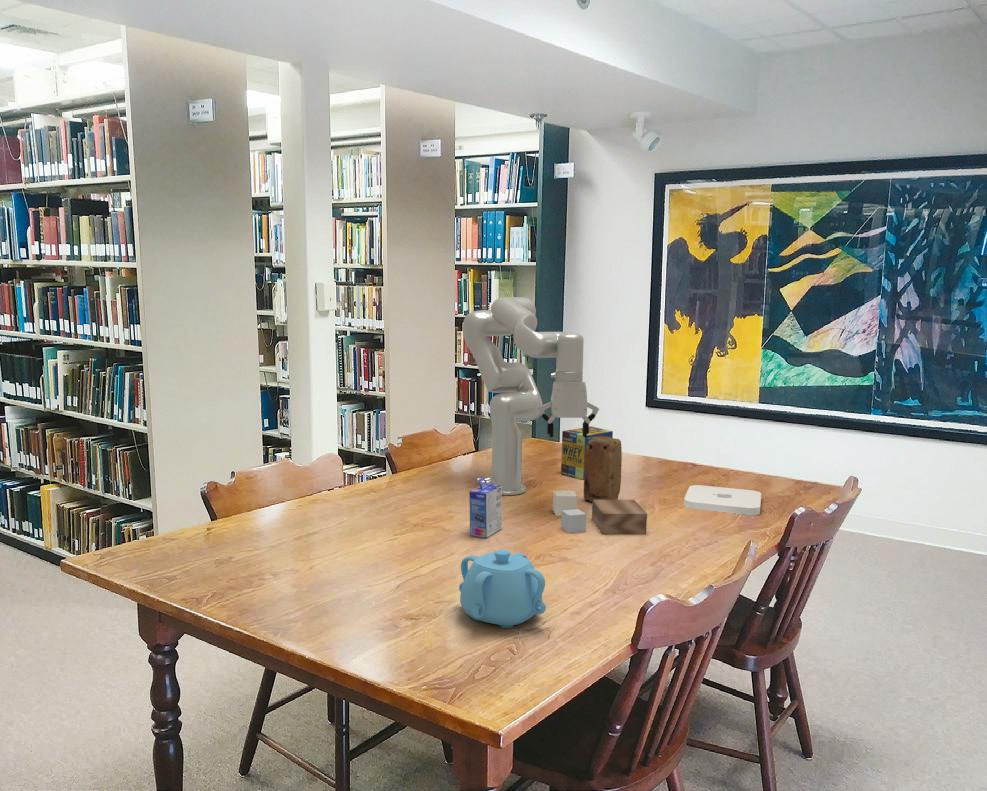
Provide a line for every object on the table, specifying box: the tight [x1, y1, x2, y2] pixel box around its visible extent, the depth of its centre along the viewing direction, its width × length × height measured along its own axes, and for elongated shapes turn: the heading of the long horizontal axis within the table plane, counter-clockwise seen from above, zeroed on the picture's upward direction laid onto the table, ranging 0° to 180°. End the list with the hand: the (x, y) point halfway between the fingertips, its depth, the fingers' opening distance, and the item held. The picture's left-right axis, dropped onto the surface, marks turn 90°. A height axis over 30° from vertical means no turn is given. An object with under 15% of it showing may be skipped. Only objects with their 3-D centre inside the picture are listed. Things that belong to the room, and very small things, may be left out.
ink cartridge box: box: [469, 476, 503, 539], centre depth 218 cm, size 10×6×14 cm, turn 155°
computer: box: [683, 484, 762, 516], centre depth 253 cm, size 22×22×3 cm
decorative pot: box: [458, 548, 547, 629], centre depth 164 cm, size 16×16×14 cm
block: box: [583, 436, 623, 503], centre depth 250 cm, size 11×8×20 cm
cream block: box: [552, 490, 578, 517], centre depth 238 cm, size 6×6×6 cm
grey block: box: [560, 508, 587, 534], centre depth 223 cm, size 5×5×5 cm
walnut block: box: [591, 499, 648, 535], centre depth 226 cm, size 12×14×6 cm
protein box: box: [560, 425, 614, 481], centre depth 286 cm, size 10×15×16 cm
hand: (567, 436), depth 235 cm, fingers open, 9 cm apart
